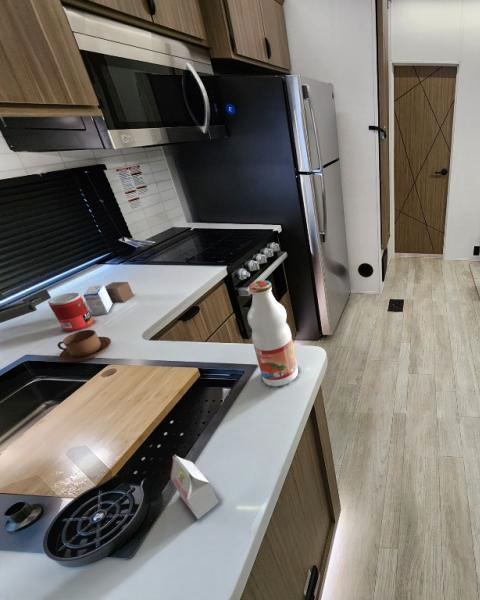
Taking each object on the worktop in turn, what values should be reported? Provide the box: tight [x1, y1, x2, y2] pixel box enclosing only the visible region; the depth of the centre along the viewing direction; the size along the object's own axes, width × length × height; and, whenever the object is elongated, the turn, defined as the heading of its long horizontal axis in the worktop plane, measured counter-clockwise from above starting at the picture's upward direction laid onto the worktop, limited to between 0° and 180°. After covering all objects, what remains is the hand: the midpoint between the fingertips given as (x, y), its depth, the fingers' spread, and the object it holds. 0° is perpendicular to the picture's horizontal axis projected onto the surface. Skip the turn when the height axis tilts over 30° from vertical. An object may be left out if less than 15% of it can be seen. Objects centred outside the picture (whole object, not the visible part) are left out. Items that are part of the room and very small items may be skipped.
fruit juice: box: [246, 279, 299, 387], centre depth 84 cm, size 9×9×28 cm
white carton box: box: [169, 454, 220, 520], centre depth 59 cm, size 4×7×10 cm, turn 53°
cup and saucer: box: [57, 329, 112, 363], centre depth 99 cm, size 12×12×6 cm
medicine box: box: [83, 284, 113, 316], centre depth 122 cm, size 8×4×9 cm, turn 27°
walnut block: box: [104, 281, 134, 303], centre depth 131 cm, size 6×6×6 cm
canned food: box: [47, 292, 94, 332], centre depth 112 cm, size 8×8×11 cm
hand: (24, 294), depth 98 cm, fingers open, 13 cm apart
